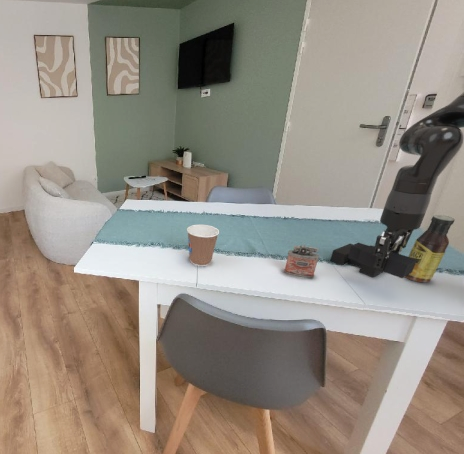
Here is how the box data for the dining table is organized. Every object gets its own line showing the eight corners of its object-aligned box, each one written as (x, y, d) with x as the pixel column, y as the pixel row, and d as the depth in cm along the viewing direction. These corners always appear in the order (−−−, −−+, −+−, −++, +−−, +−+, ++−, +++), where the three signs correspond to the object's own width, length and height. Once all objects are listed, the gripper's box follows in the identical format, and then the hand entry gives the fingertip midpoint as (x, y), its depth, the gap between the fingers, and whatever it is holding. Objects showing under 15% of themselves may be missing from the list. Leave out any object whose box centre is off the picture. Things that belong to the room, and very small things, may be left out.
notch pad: (389, 268, 92) (394, 257, 91) (373, 277, 88) (377, 266, 87) (346, 253, 102) (350, 243, 101) (330, 260, 98) (333, 250, 97)
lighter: (283, 274, 92) (290, 246, 88) (283, 269, 95) (289, 242, 91) (314, 279, 89) (322, 251, 85) (312, 274, 91) (320, 246, 88)
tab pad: (355, 253, 88) (359, 241, 86) (412, 272, 77) (417, 259, 76) (345, 258, 85) (349, 246, 84) (402, 278, 75) (407, 265, 73)
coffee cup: (189, 252, 109) (191, 222, 104) (218, 257, 104) (221, 227, 99) (181, 264, 101) (183, 233, 96) (212, 271, 96) (215, 238, 91)
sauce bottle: (397, 270, 91) (421, 211, 83) (424, 274, 88) (452, 213, 80) (406, 281, 86) (432, 219, 78) (435, 286, 83) (465, 222, 75)
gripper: (399, 199, 80) (379, 253, 86) (372, 209, 74) (353, 266, 80) (437, 206, 73) (413, 264, 80) (411, 217, 67) (388, 279, 74)
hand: (383, 265), depth 80 cm, fingers closed on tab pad, 5 cm apart
